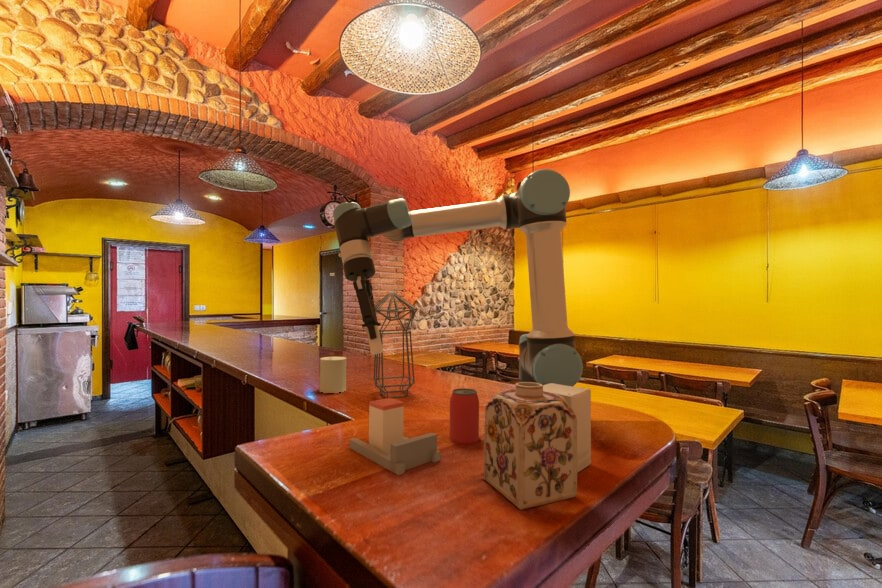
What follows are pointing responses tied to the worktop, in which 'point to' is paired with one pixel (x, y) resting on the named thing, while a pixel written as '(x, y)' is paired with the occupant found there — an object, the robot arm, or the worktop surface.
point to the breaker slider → (385, 423)
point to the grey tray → (401, 452)
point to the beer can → (464, 416)
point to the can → (332, 374)
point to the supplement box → (582, 408)
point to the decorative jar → (530, 446)
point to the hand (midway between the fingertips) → (377, 353)
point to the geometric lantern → (403, 341)
